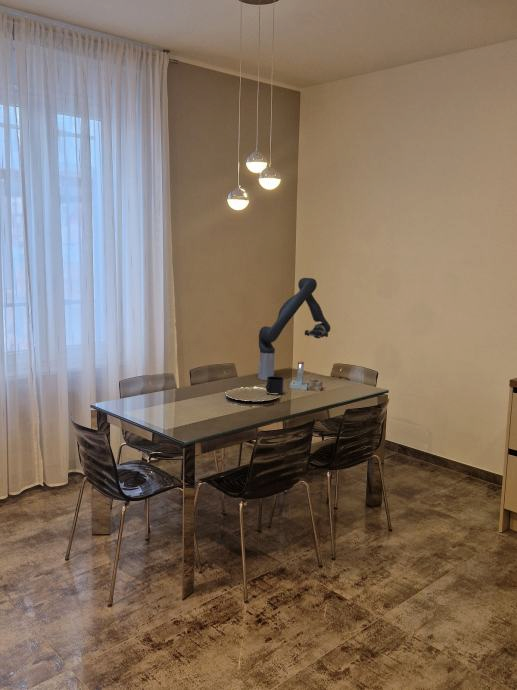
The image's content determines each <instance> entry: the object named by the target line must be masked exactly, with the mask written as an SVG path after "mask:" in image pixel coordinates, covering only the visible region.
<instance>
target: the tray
mask: <svg viewBox="0 0 517 690" xmlns="http://www.w3.org/2000/svg"><path fill="white" fill-rule="evenodd" d="M289 389H290V390H298V389H301V390H302V391H308V390H307V381H304V380H303V385H297V380H292V381H291V382H290V384H289ZM301 390H300V391H301Z"/></svg>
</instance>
